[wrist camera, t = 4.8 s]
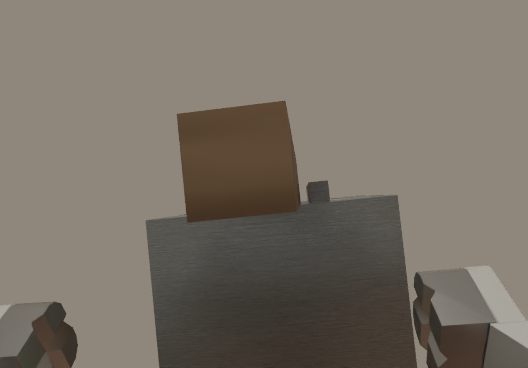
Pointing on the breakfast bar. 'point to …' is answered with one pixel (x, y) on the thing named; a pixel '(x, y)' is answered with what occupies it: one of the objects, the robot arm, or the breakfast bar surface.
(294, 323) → the control unit
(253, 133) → the walnut bar
